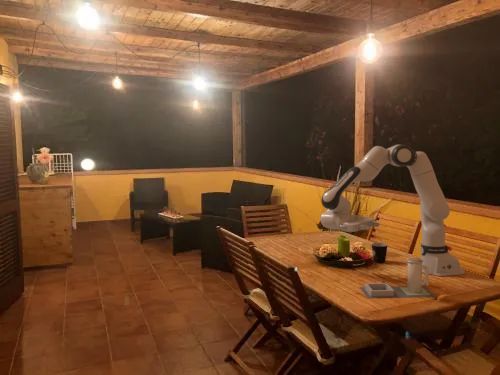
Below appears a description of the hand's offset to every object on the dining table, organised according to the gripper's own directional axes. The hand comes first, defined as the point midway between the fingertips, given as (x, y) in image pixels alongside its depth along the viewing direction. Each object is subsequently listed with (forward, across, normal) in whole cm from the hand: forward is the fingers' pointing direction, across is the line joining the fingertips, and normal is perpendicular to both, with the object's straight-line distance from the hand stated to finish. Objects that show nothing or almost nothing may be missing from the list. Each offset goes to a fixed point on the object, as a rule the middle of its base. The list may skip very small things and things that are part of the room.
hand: (374, 226), depth 205 cm
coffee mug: (-16, +34, +28) cm, 47 cm away
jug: (+23, -4, +26) cm, 35 cm away
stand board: (+16, -9, +28) cm, 33 cm away
